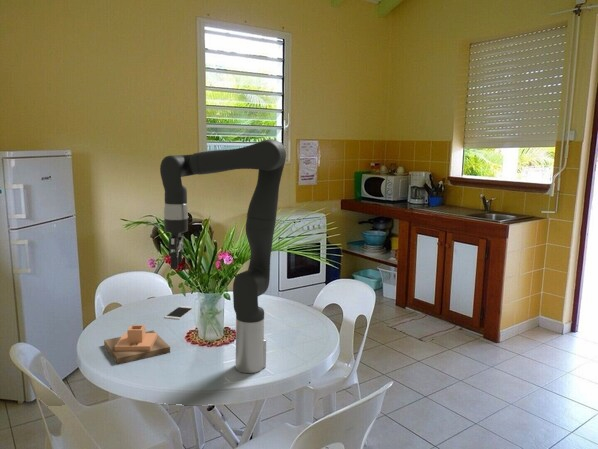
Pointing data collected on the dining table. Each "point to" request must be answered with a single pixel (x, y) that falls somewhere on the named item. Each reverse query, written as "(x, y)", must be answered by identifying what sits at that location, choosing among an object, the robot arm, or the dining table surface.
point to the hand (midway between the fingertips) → (176, 265)
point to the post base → (127, 356)
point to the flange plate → (136, 339)
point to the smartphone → (179, 312)
